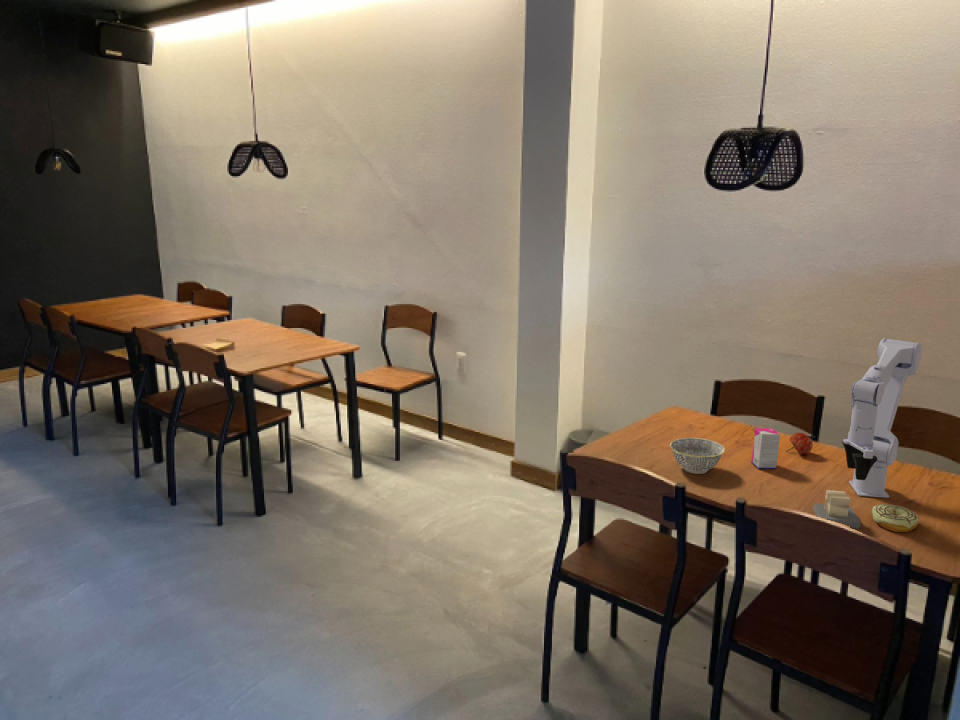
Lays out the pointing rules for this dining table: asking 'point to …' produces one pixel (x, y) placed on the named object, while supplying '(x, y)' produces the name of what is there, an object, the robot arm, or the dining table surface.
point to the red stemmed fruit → (801, 443)
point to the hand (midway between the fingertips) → (856, 473)
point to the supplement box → (765, 448)
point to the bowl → (696, 454)
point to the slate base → (849, 521)
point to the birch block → (836, 503)
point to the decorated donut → (895, 517)
